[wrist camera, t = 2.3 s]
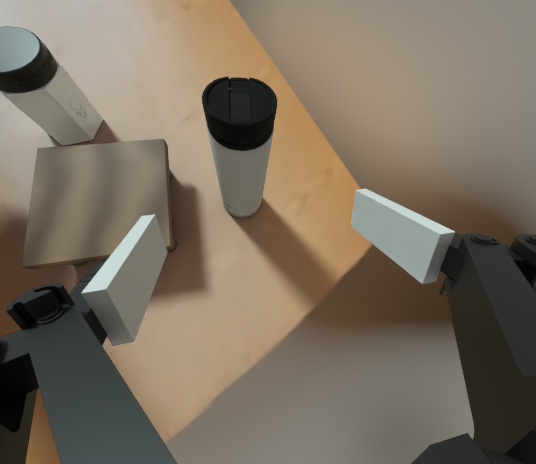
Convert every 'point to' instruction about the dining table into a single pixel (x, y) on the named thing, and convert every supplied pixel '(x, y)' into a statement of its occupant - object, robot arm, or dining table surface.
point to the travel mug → (240, 139)
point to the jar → (44, 88)
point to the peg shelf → (95, 200)
